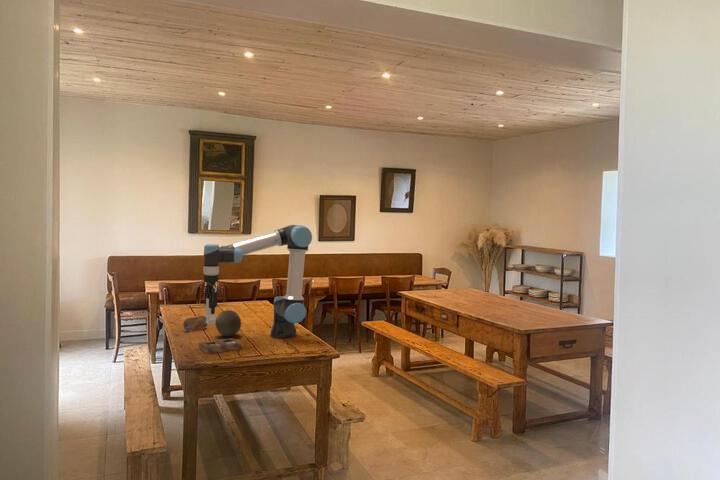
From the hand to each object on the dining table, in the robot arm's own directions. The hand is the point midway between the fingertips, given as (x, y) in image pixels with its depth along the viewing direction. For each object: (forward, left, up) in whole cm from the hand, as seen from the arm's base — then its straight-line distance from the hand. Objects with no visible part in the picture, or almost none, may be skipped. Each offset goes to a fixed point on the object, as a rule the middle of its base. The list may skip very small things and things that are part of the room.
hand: (210, 319), depth 269 cm
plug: (0, 0, -2) cm, 2 cm away
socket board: (-5, +2, -15) cm, 16 cm away
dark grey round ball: (-19, -20, -16) cm, 32 cm away
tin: (-9, -45, -16) cm, 49 cm away
